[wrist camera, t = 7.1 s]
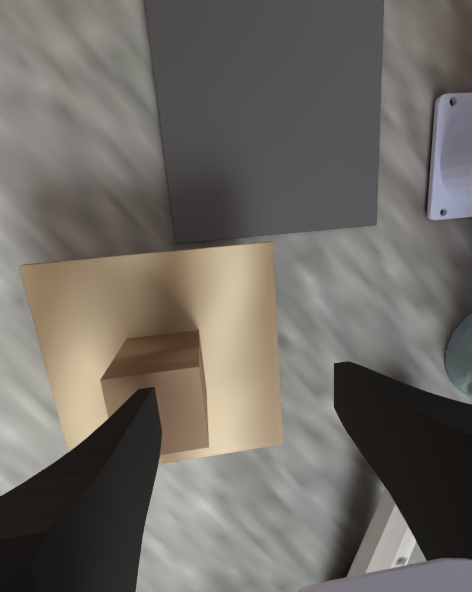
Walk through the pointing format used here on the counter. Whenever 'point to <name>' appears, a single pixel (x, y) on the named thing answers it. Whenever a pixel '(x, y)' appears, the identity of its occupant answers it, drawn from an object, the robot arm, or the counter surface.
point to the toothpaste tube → (384, 540)
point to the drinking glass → (461, 356)
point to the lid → (164, 344)
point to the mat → (268, 113)
